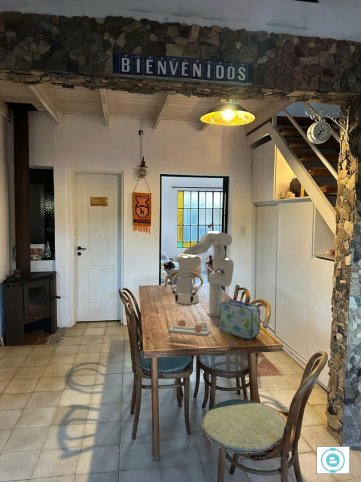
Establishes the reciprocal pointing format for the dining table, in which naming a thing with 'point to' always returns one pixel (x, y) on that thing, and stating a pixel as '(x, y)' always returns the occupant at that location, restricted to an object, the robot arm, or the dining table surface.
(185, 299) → the kettle
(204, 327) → the ball cream
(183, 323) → the terracotta ball
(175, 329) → the grey channel
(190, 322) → the dining table surface
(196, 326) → the terracotta ball
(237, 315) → the lunch box
